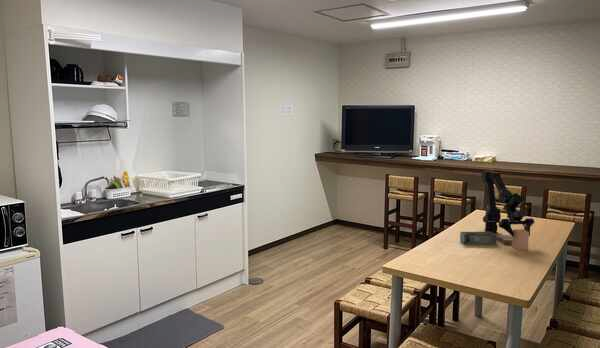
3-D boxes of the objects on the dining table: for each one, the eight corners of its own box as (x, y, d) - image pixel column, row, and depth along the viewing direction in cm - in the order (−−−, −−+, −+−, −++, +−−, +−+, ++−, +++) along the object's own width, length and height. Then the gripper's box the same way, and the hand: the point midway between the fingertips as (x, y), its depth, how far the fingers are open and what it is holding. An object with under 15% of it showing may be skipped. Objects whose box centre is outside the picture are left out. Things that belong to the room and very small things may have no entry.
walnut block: (495, 240, 268) (496, 235, 268) (511, 239, 269) (512, 234, 268) (504, 245, 258) (504, 240, 258) (521, 244, 259) (521, 239, 259)
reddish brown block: (511, 246, 255) (512, 229, 253) (521, 246, 255) (523, 229, 254) (517, 249, 249) (518, 232, 247) (527, 249, 249) (529, 232, 248)
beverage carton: (459, 240, 266) (459, 230, 265) (491, 241, 266) (492, 230, 265) (463, 244, 258) (464, 233, 257) (497, 245, 258) (497, 234, 257)
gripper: (502, 205, 252) (511, 229, 243) (533, 204, 253) (544, 228, 244) (494, 215, 261) (503, 239, 252) (525, 214, 262) (534, 238, 253)
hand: (521, 236), depth 250 cm, fingers open, 9 cm apart
